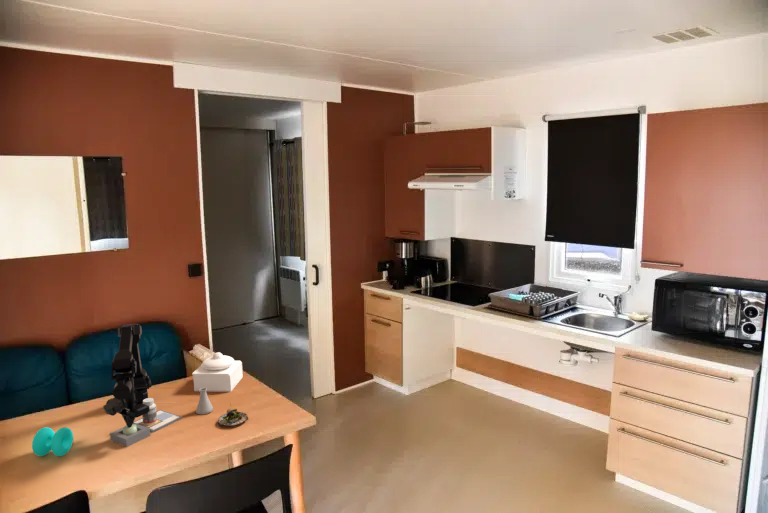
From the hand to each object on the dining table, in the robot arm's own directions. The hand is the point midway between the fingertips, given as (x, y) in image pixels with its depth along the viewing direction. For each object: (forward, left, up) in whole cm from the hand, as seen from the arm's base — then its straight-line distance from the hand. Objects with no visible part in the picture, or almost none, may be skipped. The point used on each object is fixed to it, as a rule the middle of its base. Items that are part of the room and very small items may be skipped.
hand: (129, 427), depth 205 cm
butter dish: (-10, +54, -5) cm, 55 cm away
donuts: (-14, -21, -5) cm, 26 cm away
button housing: (0, 0, -4) cm, 4 cm away
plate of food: (+25, +29, -5) cm, 39 cm away
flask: (+7, +30, -5) cm, 31 cm away
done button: (0, 0, -4) cm, 4 cm away
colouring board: (-3, +14, -4) cm, 15 cm away
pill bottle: (-3, +11, -4) cm, 12 cm away
